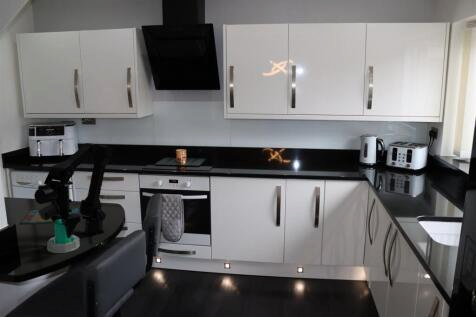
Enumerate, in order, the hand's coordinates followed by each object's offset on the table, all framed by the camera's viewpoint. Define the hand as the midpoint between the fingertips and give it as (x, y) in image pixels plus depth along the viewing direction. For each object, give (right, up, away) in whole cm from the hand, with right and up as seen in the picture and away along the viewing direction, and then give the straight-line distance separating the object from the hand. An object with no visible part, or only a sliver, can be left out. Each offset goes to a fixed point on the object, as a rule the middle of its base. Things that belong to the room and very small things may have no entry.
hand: (63, 234), depth 159 cm
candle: (0, -5, +1) cm, 5 cm away
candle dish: (0, -5, +1) cm, 5 cm away
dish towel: (-21, +1, +35) cm, 41 cm away
